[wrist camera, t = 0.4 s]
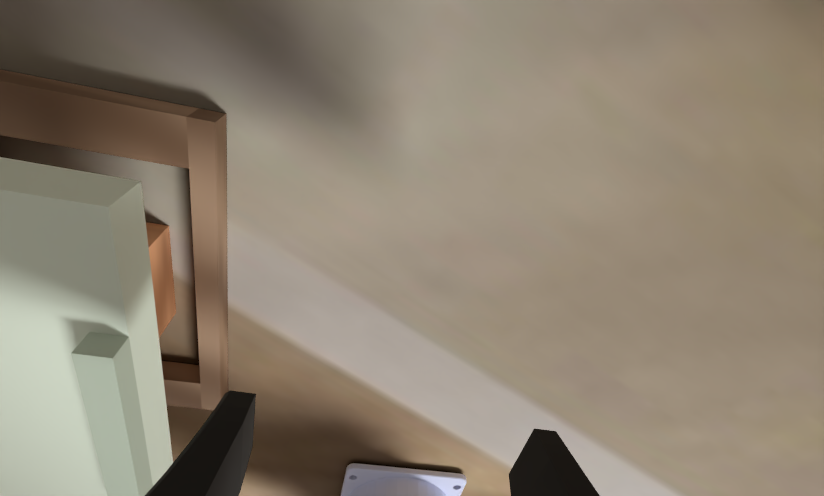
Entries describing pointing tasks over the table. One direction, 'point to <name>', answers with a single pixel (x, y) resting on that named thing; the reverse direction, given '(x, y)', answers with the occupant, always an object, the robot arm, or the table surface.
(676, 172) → the table surface
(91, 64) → the table surface
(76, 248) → the cover
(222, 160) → the brown wooden frame
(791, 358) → the table surface
